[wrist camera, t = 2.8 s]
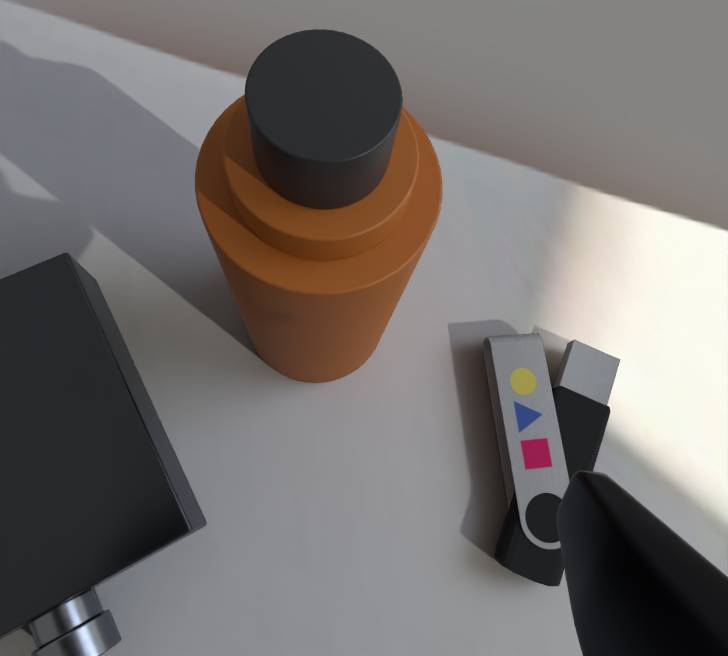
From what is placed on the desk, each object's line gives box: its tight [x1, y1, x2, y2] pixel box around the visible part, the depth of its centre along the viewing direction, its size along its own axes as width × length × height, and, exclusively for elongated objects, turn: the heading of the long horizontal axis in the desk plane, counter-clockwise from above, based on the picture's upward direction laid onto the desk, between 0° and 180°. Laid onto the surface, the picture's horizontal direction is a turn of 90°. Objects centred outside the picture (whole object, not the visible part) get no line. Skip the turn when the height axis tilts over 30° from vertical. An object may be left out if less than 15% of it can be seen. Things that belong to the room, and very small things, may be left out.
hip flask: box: [0, 253, 207, 656], centre depth 17 cm, size 12×9×3 cm
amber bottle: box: [195, 30, 442, 383], centre depth 15 cm, size 5×5×13 cm
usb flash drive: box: [483, 333, 620, 586], centre depth 20 cm, size 9×5×1 cm, turn 157°
